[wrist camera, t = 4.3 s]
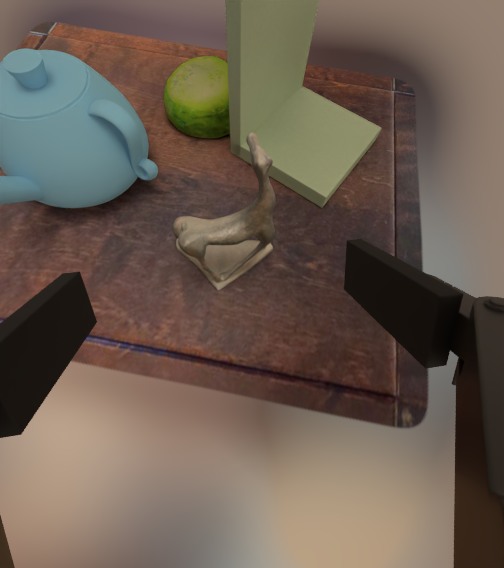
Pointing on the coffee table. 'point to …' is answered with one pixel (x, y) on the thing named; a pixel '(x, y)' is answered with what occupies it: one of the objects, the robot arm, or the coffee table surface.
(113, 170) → the teapot
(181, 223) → the figurine
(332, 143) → the rack
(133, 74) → the coffee table surface
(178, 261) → the coffee table surface
